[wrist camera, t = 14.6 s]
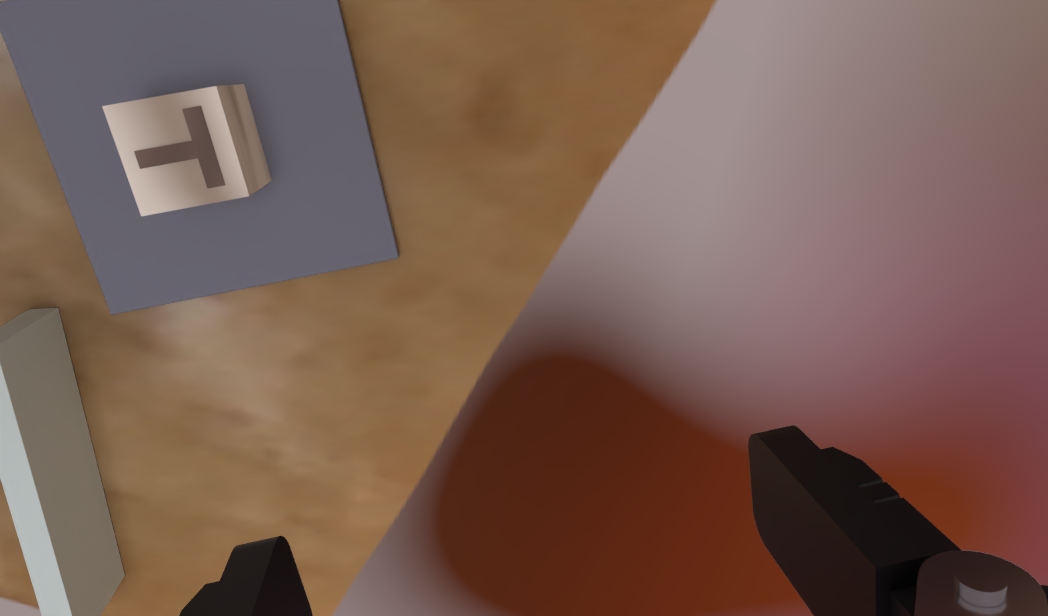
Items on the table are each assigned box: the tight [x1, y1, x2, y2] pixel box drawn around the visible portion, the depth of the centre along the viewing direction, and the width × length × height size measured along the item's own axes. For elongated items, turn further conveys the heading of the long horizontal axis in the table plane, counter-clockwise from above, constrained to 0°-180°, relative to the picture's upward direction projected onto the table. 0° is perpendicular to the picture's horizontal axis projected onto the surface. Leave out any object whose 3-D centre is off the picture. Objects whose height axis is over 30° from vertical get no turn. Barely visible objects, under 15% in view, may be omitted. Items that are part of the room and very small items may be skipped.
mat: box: [0, 0, 399, 315], centre depth 37 cm, size 16×16×1 cm
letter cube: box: [102, 84, 272, 216], centre depth 35 cm, size 5×5×5 cm
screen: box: [0, 307, 125, 616], centre depth 39 cm, size 2×18×6 cm, turn 2°
